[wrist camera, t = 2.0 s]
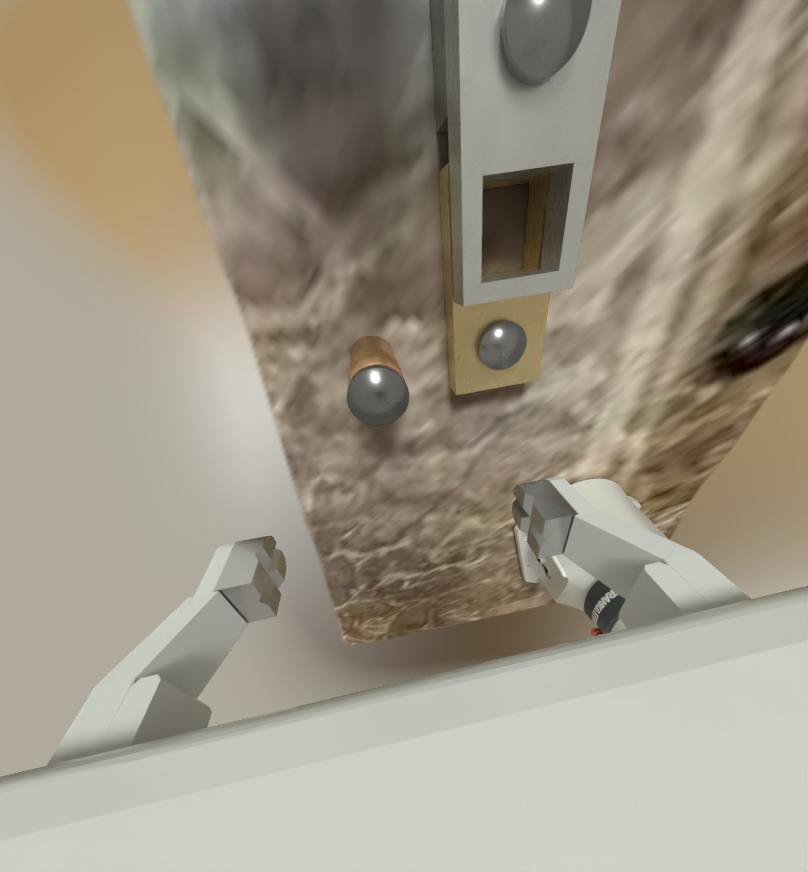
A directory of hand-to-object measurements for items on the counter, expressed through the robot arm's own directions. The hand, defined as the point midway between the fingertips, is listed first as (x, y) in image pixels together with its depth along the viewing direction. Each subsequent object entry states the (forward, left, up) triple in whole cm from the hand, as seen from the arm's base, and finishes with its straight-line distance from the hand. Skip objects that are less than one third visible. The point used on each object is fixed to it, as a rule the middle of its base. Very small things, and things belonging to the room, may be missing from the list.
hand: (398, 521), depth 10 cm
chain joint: (+8, -11, -19) cm, 24 cm away
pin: (0, 0, -19) cm, 19 cm away
